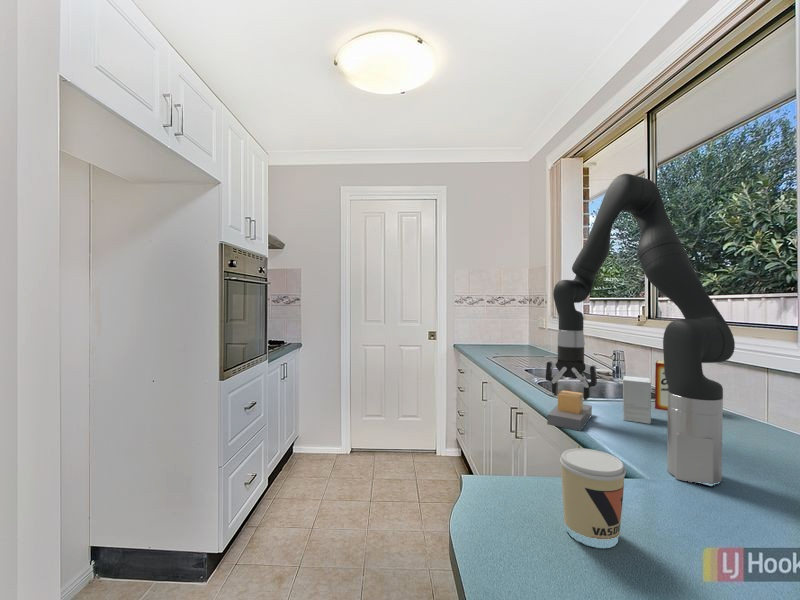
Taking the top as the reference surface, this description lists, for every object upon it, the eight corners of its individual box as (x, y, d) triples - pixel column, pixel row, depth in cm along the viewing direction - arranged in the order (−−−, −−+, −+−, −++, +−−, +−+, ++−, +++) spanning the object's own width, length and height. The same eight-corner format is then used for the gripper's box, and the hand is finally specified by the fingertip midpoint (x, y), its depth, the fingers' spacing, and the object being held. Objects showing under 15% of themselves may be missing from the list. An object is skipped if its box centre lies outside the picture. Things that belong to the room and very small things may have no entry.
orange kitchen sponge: (578, 414, 114) (579, 397, 114) (557, 410, 117) (557, 394, 117) (582, 409, 119) (583, 393, 119) (562, 405, 122) (562, 390, 122)
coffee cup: (595, 560, 55) (596, 477, 55) (546, 524, 64) (547, 452, 63) (638, 543, 59) (639, 465, 59) (587, 512, 67) (588, 444, 67)
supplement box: (650, 418, 120) (651, 377, 120) (651, 424, 114) (651, 382, 114) (623, 414, 124) (623, 375, 124) (622, 420, 118) (622, 379, 118)
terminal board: (580, 430, 108) (580, 407, 108) (547, 424, 113) (547, 402, 113) (591, 414, 123) (591, 394, 123) (562, 409, 128) (562, 390, 128)
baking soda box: (655, 408, 130) (655, 361, 130) (656, 404, 135) (657, 359, 135) (689, 414, 124) (690, 365, 124) (690, 409, 129) (690, 362, 129)
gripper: (543, 344, 119) (543, 396, 119) (594, 347, 111) (593, 403, 111) (549, 342, 125) (549, 391, 125) (598, 345, 117) (598, 398, 117)
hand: (570, 397), depth 118 cm, fingers open, 8 cm apart
